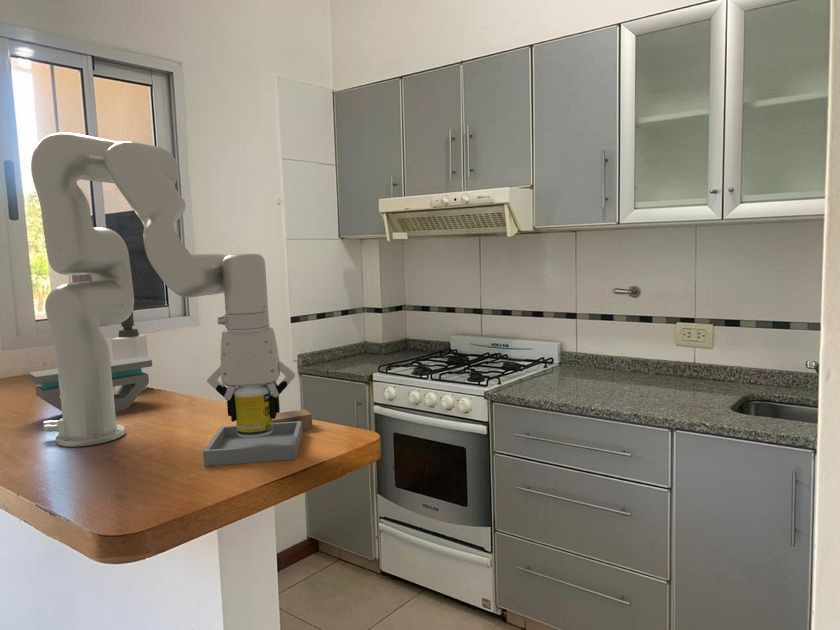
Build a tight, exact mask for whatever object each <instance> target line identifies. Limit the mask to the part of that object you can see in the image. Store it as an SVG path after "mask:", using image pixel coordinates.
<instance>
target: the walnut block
mask: <svg viewBox="0 0 840 630" xmlns="http://www.w3.org/2000/svg"><path fill="white" fill-rule="evenodd" d="M312 415H313V414H312V413H310V412H309V411H308V410H306V409H305V408H303V409H295V410H291V411H284V412H279V413H277V415H276V418H275V419H272V422H273V423H280V422H296V421H302V431H307V430H312V429H313V417H312Z"/></svg>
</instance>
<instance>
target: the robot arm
mask: <svg viewBox="0 0 840 630" xmlns="http://www.w3.org/2000/svg"><path fill="white" fill-rule="evenodd" d="M30 163H31V164H30V167H31V168H30V170H31V171H30V172H31V177H32V180H33V181H32V182H33V185H34V188H35V191H36V192H35V193H36V195H37V198H38V202H39V206H40V211H41V220H42V221H41V222H42V228H43V235H44V236H43V237H44V244H45V250H46V256H47V260H48V265H49V266H50V268H51V269H52V270H53V271H54V272H55V273H57V274H60V275H62V276H63V275H64V276H85V275H91V280H85V281H76V282H67V283H63V284H61V285H58V286H57V287H55V288H54V289H52V290H51V291H50V292H49V294H48V295H47V297H46V299H45V304H44V310H45V315H46V320H47V321H48V324H49V328H50V332H51V335H52V339H53V344H54V350H55V359H56V365H57V367H56V369H57V368H58V378H59V387H60V398H61V407H62V411H61V415H62V418H60V419H59V420H55V419H53V420H52V419H51V420H49V419H48V420H44V421H43V423H42V428H43V432H44V433H45V432H46V433H49V432H56V433H58V434H57V435H56V437H55V443H56V445H58V446H61V447H69V448H71V447H73V448H78V447H88V446H94V445H99V444H103V443H108V442H111V441H114V440H117V439H119V438H121V437H122V436H124V435H125V434H126V427H125V426H124V425H123V424H117V416H116V411H115V404H114V393H115V392H114V387H113V383H112V372H111V361H112V360H111V353H110V348H109V345H108V342H107V340H106V338H105V337H104V335H103V333H102V332H101V330H100V328H101V327H108V326H113V325H117V324H121V322H123V321H125V320H127V319H128V318H129V317H130V315H131V313H132V311H133V312H134V307H135V306H134V305H135V292H134V286H133V279H132V277H133V276H132V269H131V263H130V262H131V261H130V256H129V255H130V254H129V249H128V247H127V244H126V242H125V241H124V238H122V236H121V235H120V234H119V233H118V232H116V231H115V230H112V229H110V228H107V227H94V224H93V220H92V215H91V207H90V203H89V200H88V198H87V196H86V195H85V193H84V191H83V190H82V188H81V187H80V186H79V185H78V183H77V182H78V181H79V180H80V181H81V180H82V181H89V182H99V183H106V184H108V183H109V184H115V186H116V188H117V189H118V190H119V192H120V193H121V195H122V196H123V197H124V199H125V200H126V201H127V203H128V205H129V206H130V207H131V209H132V210H133V211H134V213H135V214H136V216H137V217H138V218H139V220H140V221H141V223H142V224H143V225H142V226H143V231H142V233H143V236H142V237H143V247H144V251H145V254H146V257H147V259H148V262H149V263H150V265H151V266H152V268H153V270H155V272H156V274H157V275H158V276H159V278H160V279H161V281H162V282H163V283H164V284H165V286H166V287H167V288H168V289H169V290H170V291H172V292H173V293H174V294H176V295H178V296H180V297H182V298H188V299H189V298H190V299H191V298H195V297H196V298H197V297H202V296H213V295H214V296H215V295H219V294H224V295H223V296H224V297H223V298H224V308H225V313H224V315H222V316H218V317H217V324H218V325H223V326H224V327H225V330H223V331H222V332H221V337H220V339H221V340H220V366H219V367H218V368H217V369H216V370H215V371H214V372H213V373H212V374H211V375H210V376H209V377H208V378H207V379H206V380H207V381H206V382H207V383H208V384H209V386H211V387H212V388H213V389H214V390H215V391H216V392H218V394H220V395H221V396H222V397H223V398H224V400H226V405H227V416H228V417H230V420H231V422H233V423H234V422H237V421H236V409H235V395H234V392H235V389H236V388H237V387H238V386H250V385H265V384H266V385H267V386H268V388H269V390H270V392H271V397H270V411H271V418H272V419H275V418H276V415H277V413H281V412H280V409H281V408H280V394H282V393H283V392H284V390H285V389H286V388H287V386H289V384H290V383H291V382H292V381H293V380H294V378H295V377H296V373H295V372H294V371H293V370H292V369H291V368H290V367H288V366H287V365H285V364H284V363H283V362H282V361H281V360H280V358H279V349H278V343H277V338H276V335H275V334H276V333H275V331H274V328H273V327H270V314H269V313H270V312H269V304H268V303H269V302H268V287H267V286H268V285H267V270H266V261H265V258H264V257H263V256H262V255H261V254H259V253H237V254H229V255H228V254H223V253H221V254H220V253H200V254H199V253H196V254H191V252H190V251H189V250H188V248H187V247H186V246H185V245H184V242H182V240H181V239H180V237H179V236H178V233H177V231H176V229H175V225H174V224H175V223H176V222H177V221H178V220H180V218H182V216H183V214H184V213H185V212H186V205H187V204H186V202H185V200H184V198H183V197H182V195H181V194H180V193H179V192H178V190H177V189H176V187H175V186H174V185H175V184H176V182H177V181H178V177H179V173H180V171H179V165H178V163H177V161H176V158H175V157H174V156H173V154H171V153H170V151H168V150H167V149H165V148H163V147H160V146H157V145H150V144H147V143H141V142H136V141H116V140H111V139H106V138H100V137H95V136H90V135H85V134H81V133H73V132H55V133H52V134H49V135H47V136H45V137H44V138H42V139H41V140H40V141H39V142H38V144H37V145H36V147H35V148H34V150H33V153H32V156H31V161H30ZM281 373H282V374H283V376H284V378H283V380H281V382H280V383H277V381H278V380H279V377H280V375H281ZM219 378H220V379H221V380H220V381H221V382H220V381H219ZM226 386H227V387H226Z"/></svg>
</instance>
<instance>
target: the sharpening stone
mask: <svg viewBox="0 0 840 630" xmlns="http://www.w3.org/2000/svg"><path fill="white" fill-rule="evenodd" d="M110 361H111V372H112V383H113V388H114V387H115V388H116V386H120V388H119V389H118V390H117V391H116V390H115V392H113V393H114V404H115V412H118V411H122V410H123V411H124V410H127V409H128V408H129V407H130V406H131V404H133V403H134V401H136V399H137V398H138V396H139V395H140V394H141V393H142V391H144V390H145V389H144V388H145V387H146V386H147V385H148V384H149V376H150V375H149V376H148V374H146V373H144V372H142V369H141V368H145V367H149V368H151V367H153V360H152V359H149V358H148V359H146V358H143V357H136V358H129V359H122V360H114V361H113V360H110ZM27 375H28V380H29V381H31V382H32V383H34V384H36V385H35V386H34V389H35V396H37V397H38V398H40V399H41V400H42V401H44V402H46V403H48V404H49V405H51V406H52V407H54V408H56V409H57V410H59V411H60V412H62V407H61V397H60V387H59V378H58V368H57V367H56V368H51V369H47V370H46V369H45V370H37V371H29V372H27ZM143 389H144V390H143Z"/></svg>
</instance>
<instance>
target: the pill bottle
mask: <svg viewBox="0 0 840 630" xmlns="http://www.w3.org/2000/svg"><path fill="white" fill-rule="evenodd" d="M234 395H235V409H236V421H235V422H236V425H237V433H238V435H239V436H240V437H243V438H258V437H263V436H266V435H268V434H270V433H271V432H272V431H273V422H272V418H271V411H270V397H271V392H270V390H269V388H268V386H267V385H266V384H265V385H250V386H237V387H236V389H235V392H234Z"/></svg>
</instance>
